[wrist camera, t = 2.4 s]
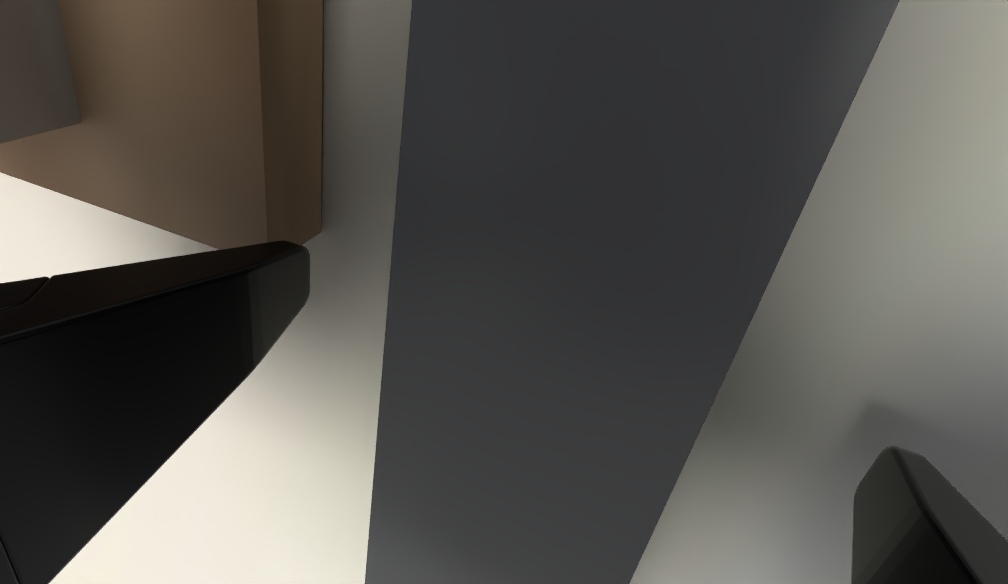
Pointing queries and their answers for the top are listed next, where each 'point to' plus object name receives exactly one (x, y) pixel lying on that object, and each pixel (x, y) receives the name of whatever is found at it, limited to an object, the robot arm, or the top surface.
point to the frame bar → (584, 263)
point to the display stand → (170, 111)
